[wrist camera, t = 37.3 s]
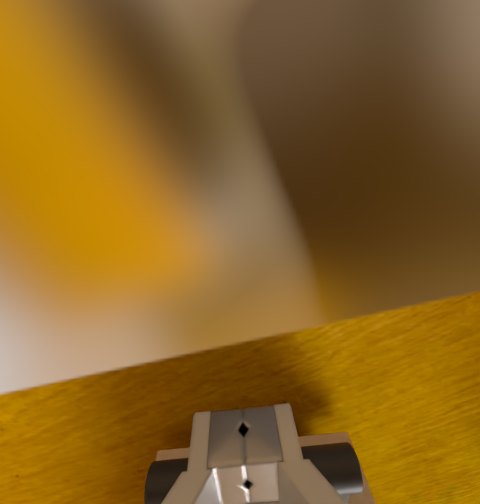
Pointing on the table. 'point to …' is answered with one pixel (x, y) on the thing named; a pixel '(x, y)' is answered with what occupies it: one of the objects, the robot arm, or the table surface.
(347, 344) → the table surface
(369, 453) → the table surface
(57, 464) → the table surface
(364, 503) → the drawer
